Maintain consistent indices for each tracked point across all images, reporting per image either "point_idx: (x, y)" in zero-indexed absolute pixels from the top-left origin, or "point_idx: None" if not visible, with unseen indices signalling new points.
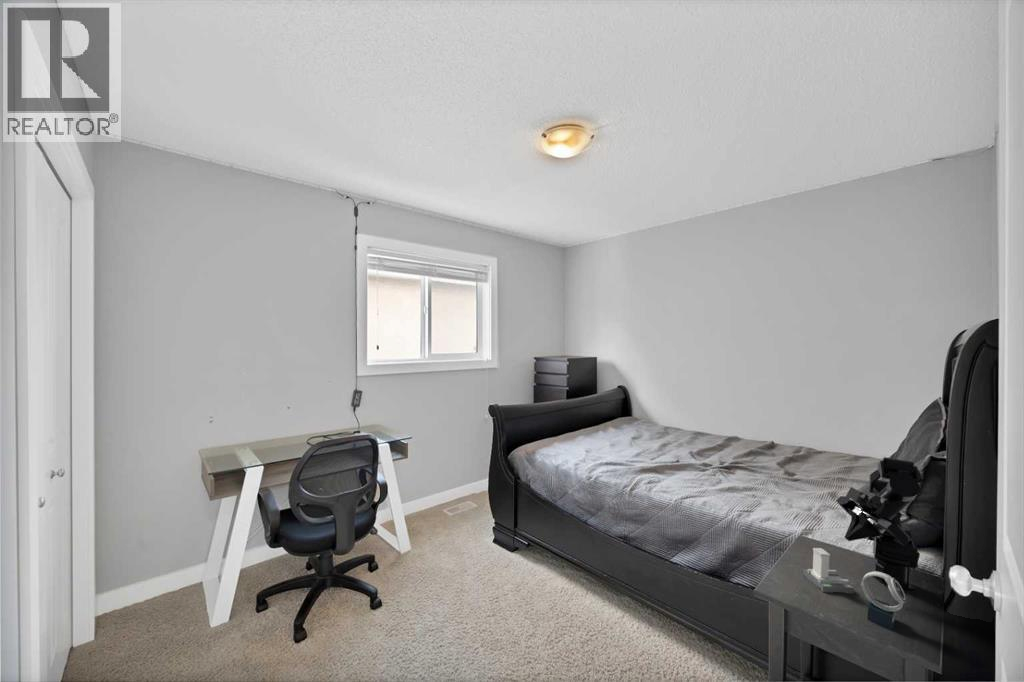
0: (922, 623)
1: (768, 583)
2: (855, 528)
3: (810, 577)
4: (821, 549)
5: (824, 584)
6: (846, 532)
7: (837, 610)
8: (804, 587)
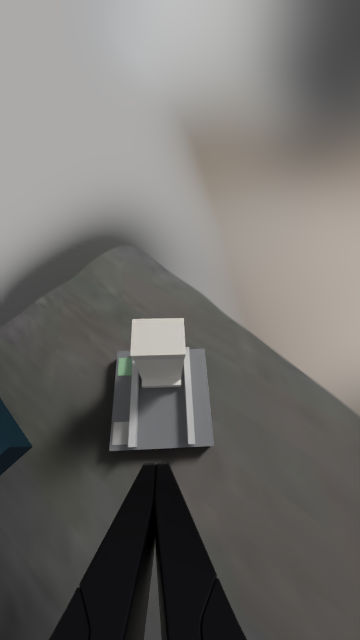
0: None
1: (151, 257)
2: (112, 608)
3: None
4: (174, 346)
5: (125, 359)
6: (182, 495)
7: (46, 344)
8: None
